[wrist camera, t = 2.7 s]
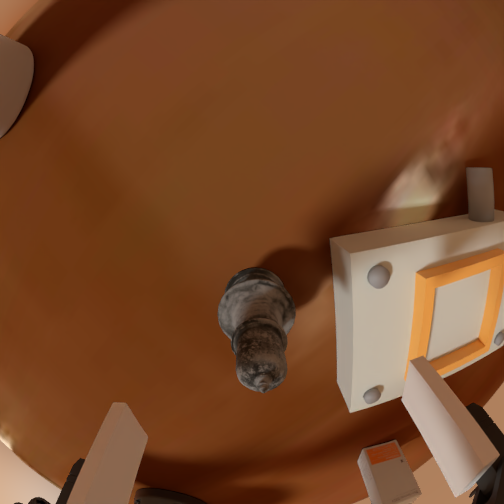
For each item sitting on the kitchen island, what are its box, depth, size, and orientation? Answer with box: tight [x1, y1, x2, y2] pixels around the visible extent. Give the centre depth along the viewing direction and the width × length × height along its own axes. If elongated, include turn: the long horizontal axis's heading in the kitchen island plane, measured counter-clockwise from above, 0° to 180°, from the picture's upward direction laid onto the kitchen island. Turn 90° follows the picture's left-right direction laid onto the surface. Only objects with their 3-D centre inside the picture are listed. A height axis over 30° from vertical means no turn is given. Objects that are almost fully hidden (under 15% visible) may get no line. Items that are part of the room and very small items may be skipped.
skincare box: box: [358, 440, 421, 504], centre depth 26 cm, size 6×4×12 cm
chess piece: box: [218, 268, 296, 393], centre depth 18 cm, size 6×6×12 cm
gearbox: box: [329, 167, 504, 413], centre depth 21 cm, size 22×21×6 cm
